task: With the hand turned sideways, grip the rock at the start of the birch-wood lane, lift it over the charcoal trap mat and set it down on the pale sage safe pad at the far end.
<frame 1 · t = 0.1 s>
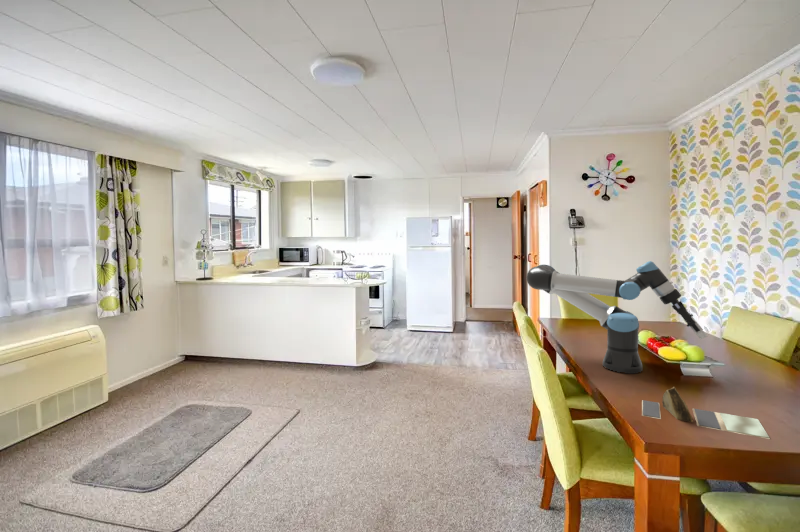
hand: (701, 334, 165), 15 cm above the table, tool tilted 35°, fingers open, 13 cm apart
trap near: (650, 409, 127), resting on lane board
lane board: (696, 418, 121), on the table
rock: (677, 415, 123), on the table
trap middle: (706, 418, 119), resting on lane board
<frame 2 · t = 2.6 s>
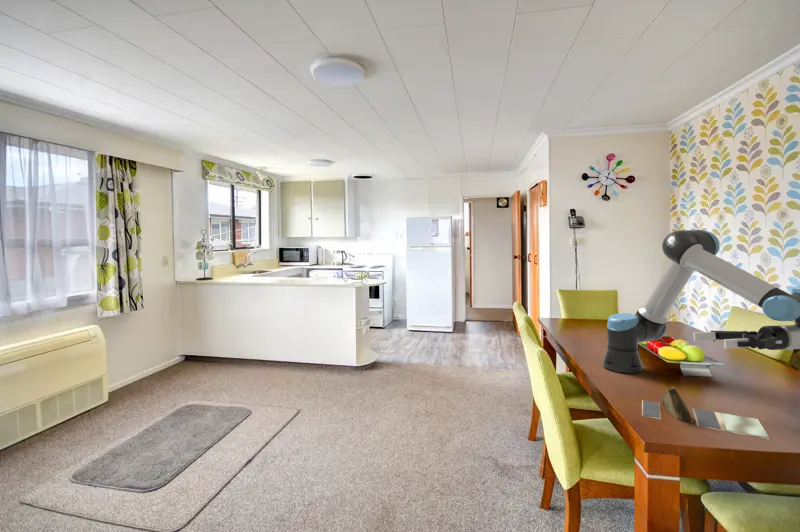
hand: (708, 340, 124), 24 cm above the table, tool horizontal, fingers open, 13 cm apart
nothing on the table moved.
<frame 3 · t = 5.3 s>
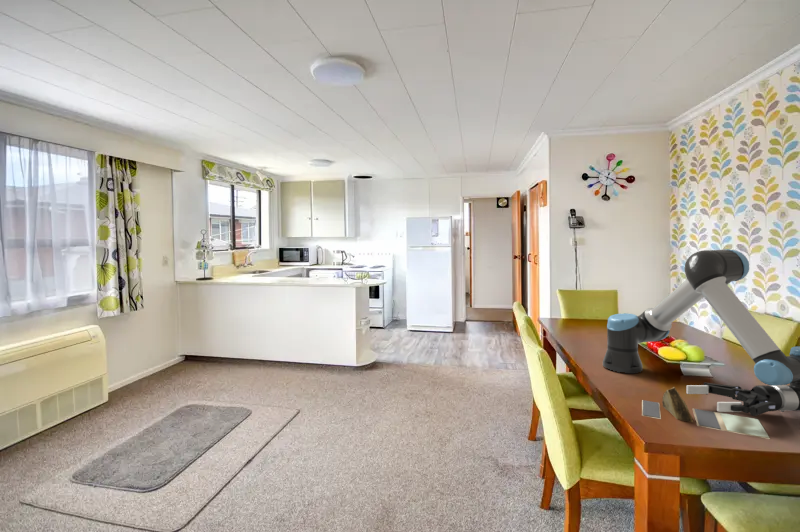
hand: (701, 397, 122), 6 cm above the table, tool horizontal, fingers open, 13 cm apart
nothing on the table moved.
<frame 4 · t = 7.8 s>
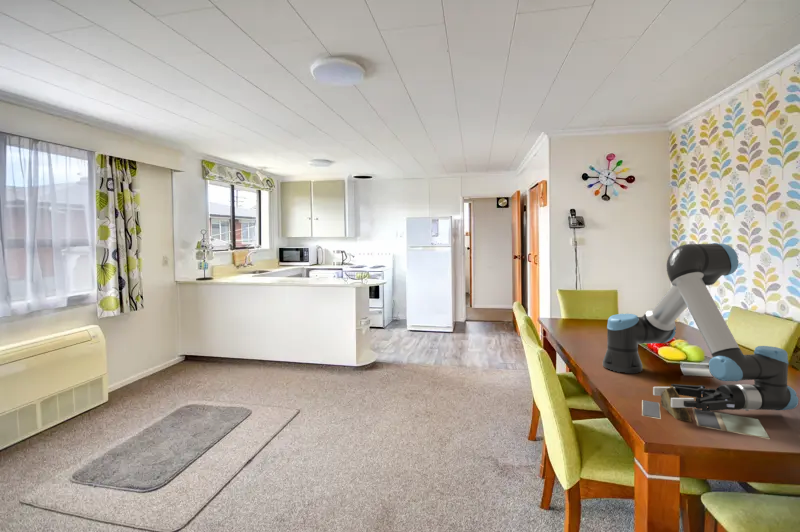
hand: (662, 396, 123), 6 cm above the table, tool horizontal, fingers closed on rock, 9 cm apart
rock: (675, 414, 124), on the table, touching gripper
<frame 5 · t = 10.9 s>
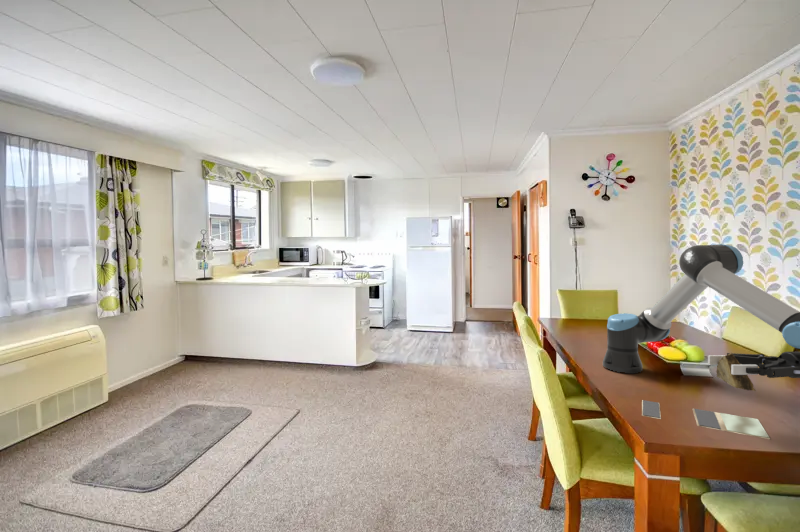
hand: (720, 364, 115), 19 cm above the table, tool horizontal, fingers closed on rock, 9 cm apart
rock: (734, 384, 115), point 12 cm above the table, touching gripper
when the fingers open (8 cm above the table, at t = 13.8 s): rock drops 1 cm, resting on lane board.
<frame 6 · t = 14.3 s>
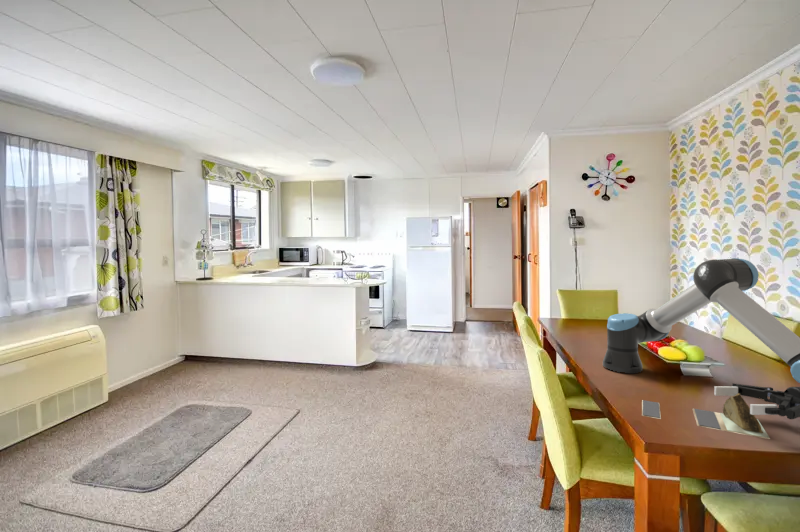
hand: (731, 399, 115), 8 cm above the table, tool horizontal, fingers open, 13 cm apart
rock: (741, 424, 115), resting on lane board
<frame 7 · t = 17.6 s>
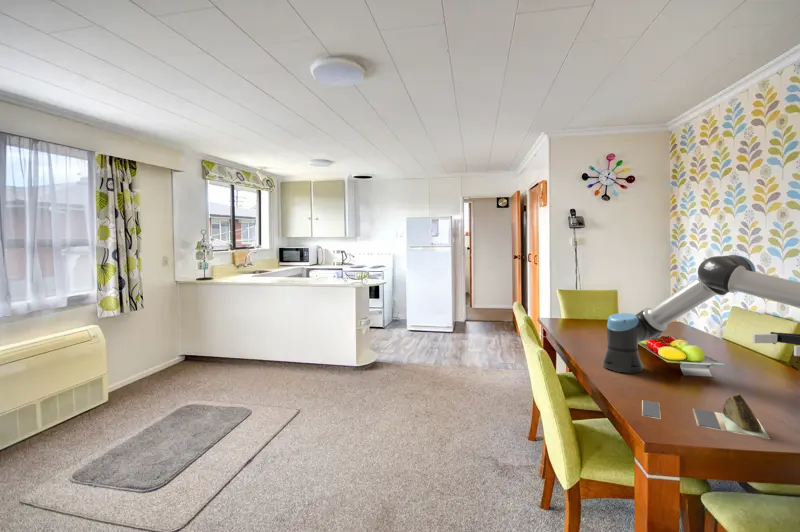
hand: (773, 344, 113), 25 cm above the table, tool horizontal, fingers open, 13 cm apart
nothing on the table moved.
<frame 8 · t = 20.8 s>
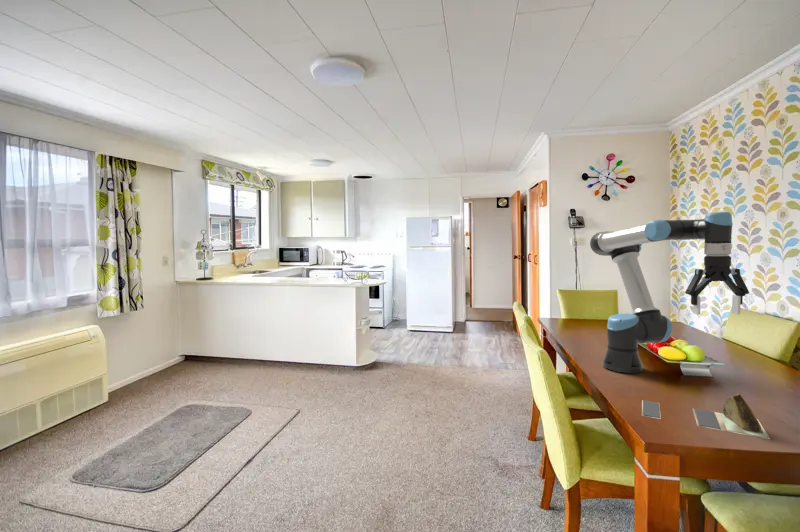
hand: (716, 313, 140), 29 cm above the table, tool pointing down, fingers open, 13 cm apart
nothing on the table moved.
at the end: rock inside the target area (0.6 cm from its centre), point 0.5 cm above the table; rock tilted 0°; rock touching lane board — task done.
